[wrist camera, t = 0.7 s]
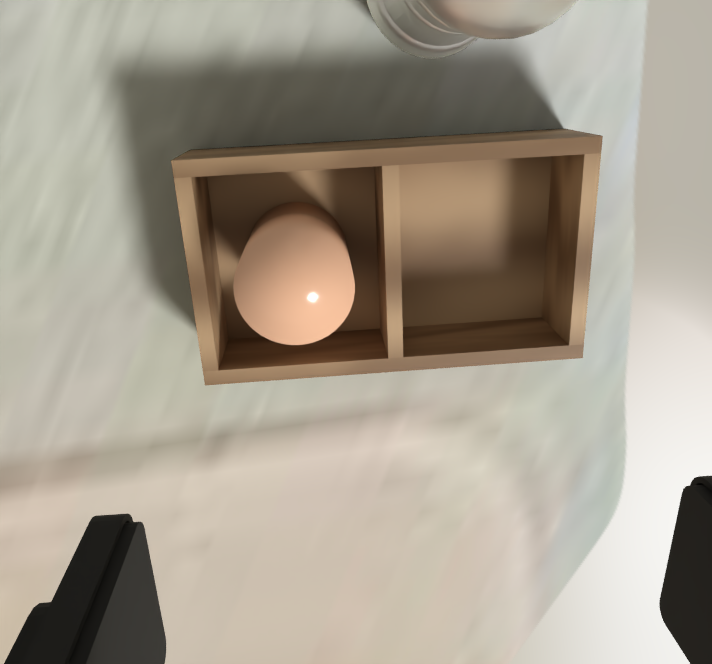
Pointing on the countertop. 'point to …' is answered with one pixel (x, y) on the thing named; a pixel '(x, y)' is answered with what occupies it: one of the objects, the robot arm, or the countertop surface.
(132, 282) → the countertop surface
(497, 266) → the crate
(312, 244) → the peach colored egg
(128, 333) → the countertop surface
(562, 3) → the grey metal bottle
